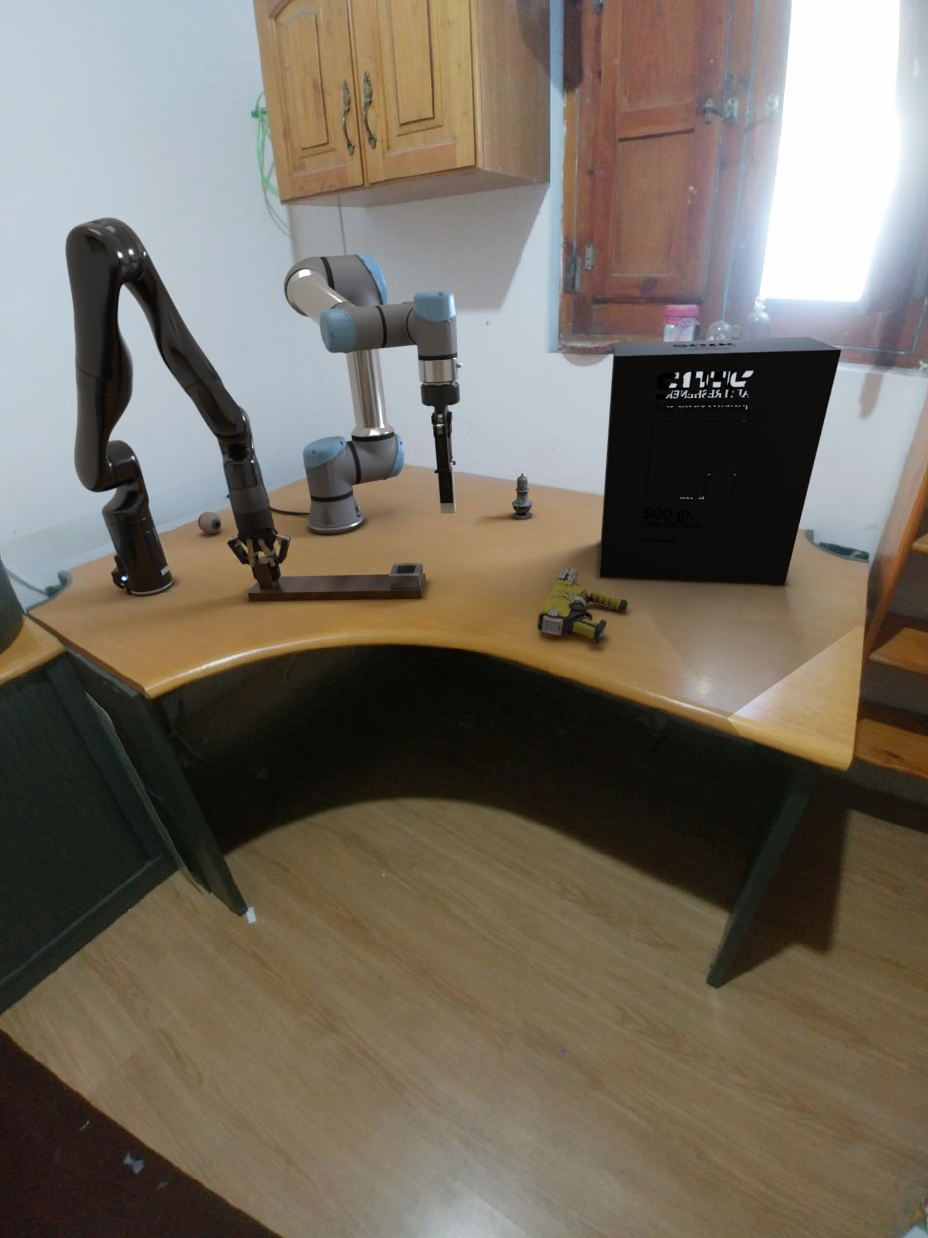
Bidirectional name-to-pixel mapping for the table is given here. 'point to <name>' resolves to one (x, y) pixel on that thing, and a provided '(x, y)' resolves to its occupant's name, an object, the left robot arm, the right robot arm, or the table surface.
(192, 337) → the left robot arm
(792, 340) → the cardboard box
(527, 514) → the salt shaker
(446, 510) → the peg
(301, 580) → the peg board
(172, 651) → the table surface
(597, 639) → the toy gun
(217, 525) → the eyeball
